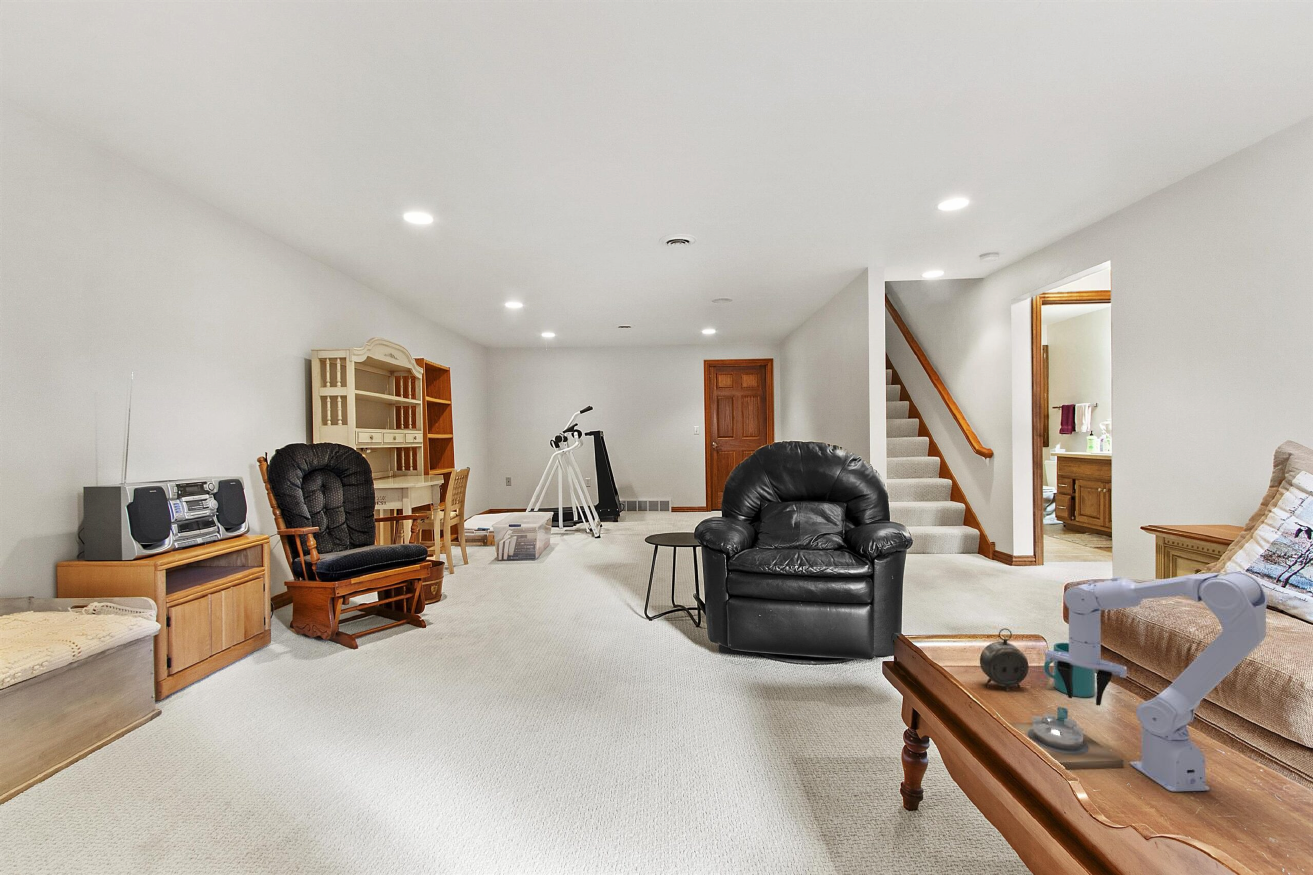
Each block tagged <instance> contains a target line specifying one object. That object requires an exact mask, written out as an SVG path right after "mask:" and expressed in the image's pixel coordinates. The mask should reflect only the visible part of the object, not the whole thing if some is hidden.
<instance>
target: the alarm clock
mask: <svg viewBox="0 0 1313 875" xmlns="http://www.w3.org/2000/svg"><path fill="white" fill-rule="evenodd" d="M1004 630H1005V631H1008V632H1009V634H1010V636H1009V638H1006V637H1004V638H1003V637H1001V633H1002V632H1003V631H1004ZM1012 634H1013V633H1012V631H1011V630H1010V629H1009V628H1005V627H1004V628H1003V627H1002V628H1001V629H1000V630H999V632H998V638H999V639H1000V640H999V641H994V642H992V643H990V644H988V645H986V646H985V647H984V649H983V650H982V651H981V653H980V656H979V666H980V668H981V671H982V672H983V673H984V675H986V676H987V677H988V680H987V681H986V682H985V683H984V686H985V687H987V686H988V685H989V684H990V683H991V682H993V683H995V684H996V685H999V686H1001V687H1005V689H1006V690H1005V691H1007V693H1008V692H1010V687H1014V686H1017V688H1021V685H1020V683H1022V682H1023V681H1024V680H1025V679H1026V678H1027V676H1028V673H1029V670H1030V666H1029V660H1028V659H1027V657H1026V655H1025V653H1024V652H1022V651H1021V650H1020V649H1018V648H1017V647H1016V646H1015V645H1014V644H1012V643H1010V642H1008V641H1009V640H1010V639H1011V638H1012V636H1013V635H1012Z"/></svg>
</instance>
